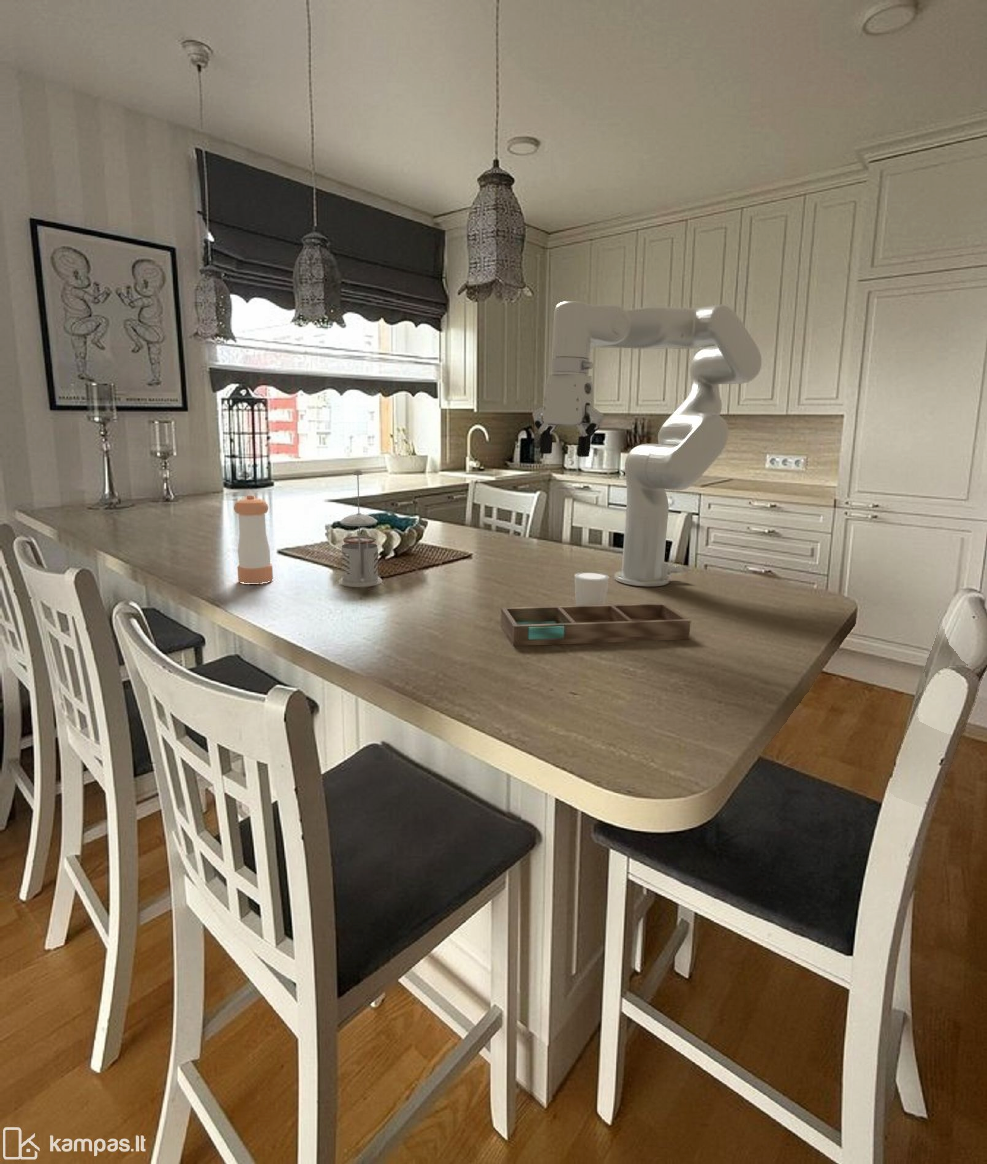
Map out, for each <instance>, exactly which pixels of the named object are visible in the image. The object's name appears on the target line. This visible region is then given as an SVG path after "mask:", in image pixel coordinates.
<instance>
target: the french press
mask: <svg viewBox="0 0 987 1164" xmlns="http://www.w3.org/2000/svg"><path fill="white" fill-rule="evenodd" d="M353 476H357V477H356V479H357V480H356V481H357V509H358V510H357V513H355V514H350V515H347V516H346V517H343V519H341V520H340V521H339V522H340V524H341V525H342V526H347V527H358V530H356V531H357V532H356V536H355V535H353V536H346V537H344V538H343V539H342V541H343V542H344V543H345V544H343V545H341V553H342V555H341V559H342V560H341V563H342V566H341V568H342V572H341V573H342V577H341V578H340V579H339V580H338V582H339V583H338V584H339V585H341V586H345V587H351V588H359V587H360V588H363V587H373V586H377V585H379V584H382V583H383V579H382V578H381V577H379V569H378V568H379V564H378V545H377V544H376V543H374V542H376V539H377V538H375V537H373V536H368V532H367V529H366V530H364V534H363V535H361V527H367V526H368V527H369V526H373V525H375V524H377V523H378V520H377V518H374V517H373V516H370V515H368V514H364V513H360V489H359V488H360V484H359V483H360V482H359V476H363V472H362V470H360V469H354V471H353ZM346 555H347V556H346ZM345 566H347V567H345Z"/></svg>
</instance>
